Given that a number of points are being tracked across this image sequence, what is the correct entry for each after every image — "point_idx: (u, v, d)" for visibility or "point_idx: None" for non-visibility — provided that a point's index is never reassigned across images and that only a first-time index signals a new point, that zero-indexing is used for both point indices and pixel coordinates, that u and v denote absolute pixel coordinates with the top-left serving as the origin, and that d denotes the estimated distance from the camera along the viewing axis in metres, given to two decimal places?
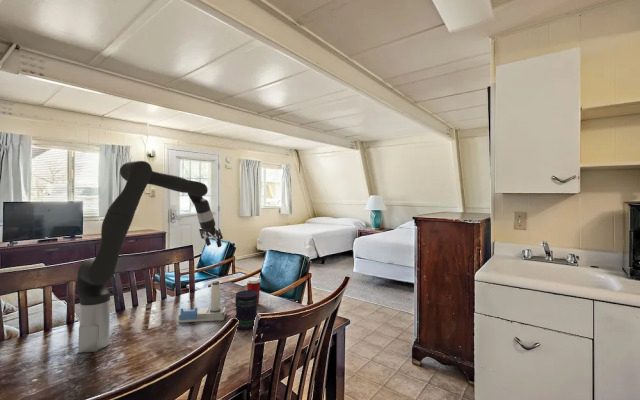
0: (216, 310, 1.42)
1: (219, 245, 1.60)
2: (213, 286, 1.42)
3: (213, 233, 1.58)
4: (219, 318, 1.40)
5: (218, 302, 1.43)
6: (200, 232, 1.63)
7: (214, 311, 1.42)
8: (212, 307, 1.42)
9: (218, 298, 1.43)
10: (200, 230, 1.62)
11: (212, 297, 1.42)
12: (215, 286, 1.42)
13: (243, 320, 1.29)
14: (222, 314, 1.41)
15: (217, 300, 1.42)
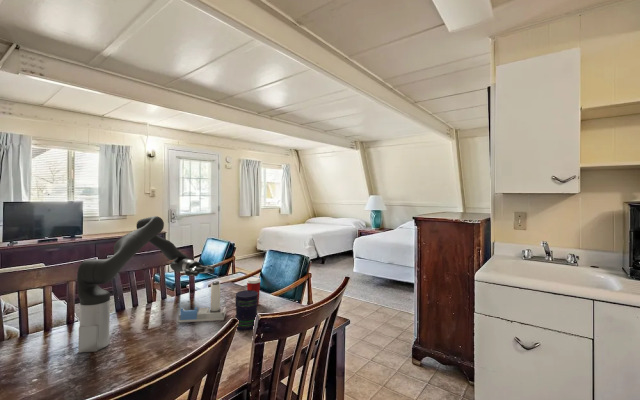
0: (216, 310, 1.42)
1: None
2: (213, 286, 1.42)
3: None
4: (219, 318, 1.40)
5: (218, 302, 1.43)
6: (186, 269, 1.53)
7: (214, 311, 1.42)
8: (212, 307, 1.42)
9: (218, 298, 1.43)
10: (186, 269, 1.54)
11: (212, 297, 1.42)
12: (215, 286, 1.42)
13: (243, 320, 1.29)
14: (222, 314, 1.41)
15: (217, 300, 1.42)
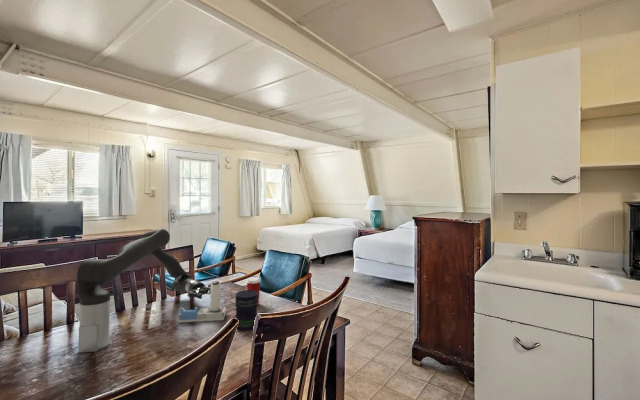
0: (216, 310, 1.42)
1: None
2: (213, 286, 1.42)
3: None
4: (219, 318, 1.40)
5: (218, 302, 1.43)
6: (189, 291, 1.49)
7: (214, 311, 1.42)
8: (212, 307, 1.42)
9: (218, 298, 1.43)
10: (189, 290, 1.50)
11: (212, 297, 1.42)
12: (215, 286, 1.42)
13: (243, 320, 1.29)
14: (222, 314, 1.41)
15: (217, 300, 1.42)
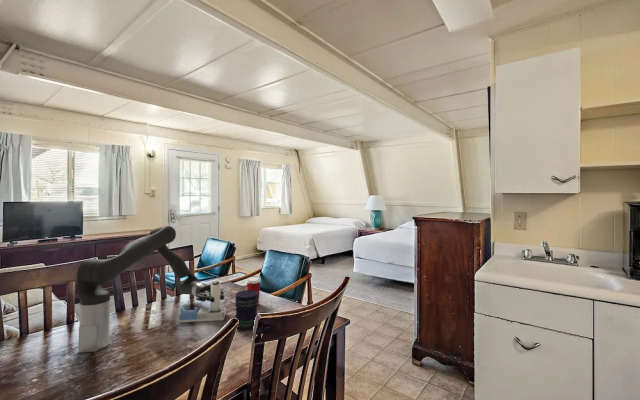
0: (216, 310, 1.42)
1: (223, 295, 1.45)
2: (213, 286, 1.42)
3: None
4: (219, 318, 1.40)
5: (218, 302, 1.43)
6: (199, 295, 1.43)
7: (214, 311, 1.42)
8: (212, 307, 1.42)
9: (218, 298, 1.43)
10: (197, 294, 1.44)
11: None
12: (215, 286, 1.42)
13: (243, 320, 1.29)
14: (222, 314, 1.41)
15: (217, 300, 1.42)
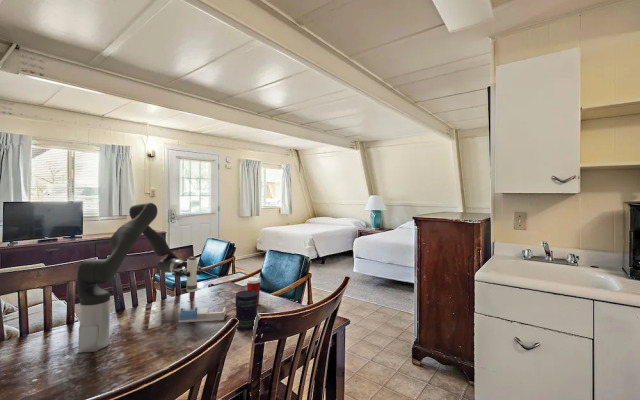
0: (192, 285, 1.40)
1: (200, 270, 1.43)
2: (189, 261, 1.40)
3: None
4: (219, 318, 1.40)
5: (194, 277, 1.40)
6: (175, 270, 1.41)
7: (190, 286, 1.39)
8: (188, 282, 1.40)
9: (194, 273, 1.40)
10: (174, 269, 1.42)
11: None
12: (191, 261, 1.40)
13: (243, 320, 1.29)
14: (222, 314, 1.41)
15: (193, 275, 1.40)
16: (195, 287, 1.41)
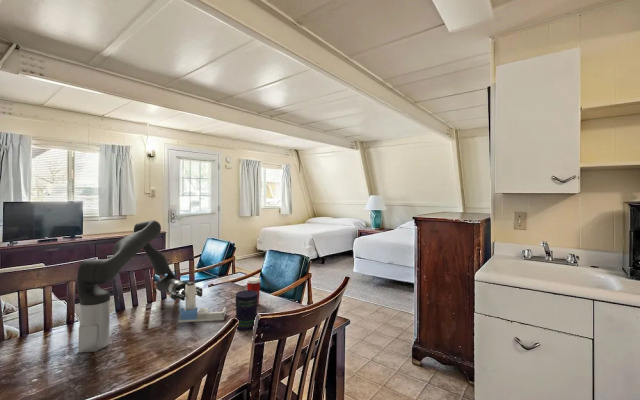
0: None
1: None
2: (187, 287, 1.40)
3: None
4: (219, 318, 1.40)
5: (193, 303, 1.41)
6: (172, 292, 1.41)
7: None
8: (187, 308, 1.40)
9: (193, 299, 1.41)
10: (172, 291, 1.43)
11: (187, 298, 1.40)
12: (189, 287, 1.40)
13: (243, 320, 1.29)
14: (222, 314, 1.41)
15: (192, 301, 1.40)
16: None
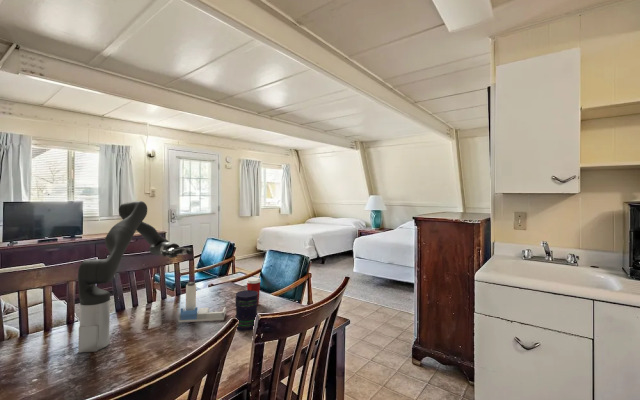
0: None
1: (191, 250, 1.54)
2: (188, 287, 1.40)
3: None
4: (219, 318, 1.40)
5: (193, 303, 1.41)
6: (162, 250, 1.50)
7: None
8: (187, 308, 1.40)
9: (193, 299, 1.41)
10: (163, 250, 1.52)
11: (187, 298, 1.40)
12: (190, 287, 1.40)
13: (243, 320, 1.29)
14: (222, 314, 1.41)
15: (192, 301, 1.40)
16: None
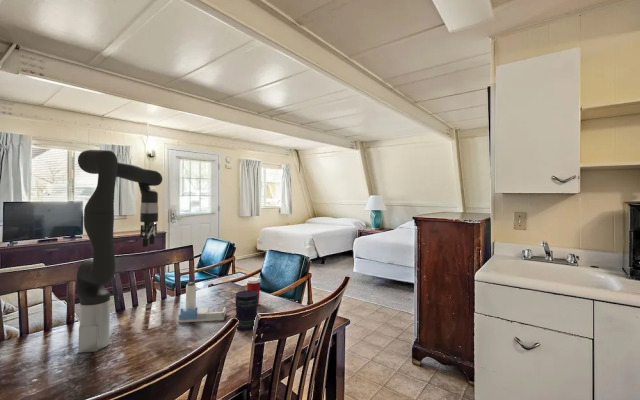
0: None
1: None
2: (188, 287, 1.40)
3: None
4: (219, 318, 1.40)
5: (193, 303, 1.41)
6: (146, 229, 1.39)
7: None
8: (187, 308, 1.40)
9: (193, 299, 1.41)
10: (147, 226, 1.39)
11: (187, 298, 1.40)
12: (190, 287, 1.40)
13: (243, 320, 1.29)
14: (222, 314, 1.41)
15: (192, 301, 1.40)
16: None
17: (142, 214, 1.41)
